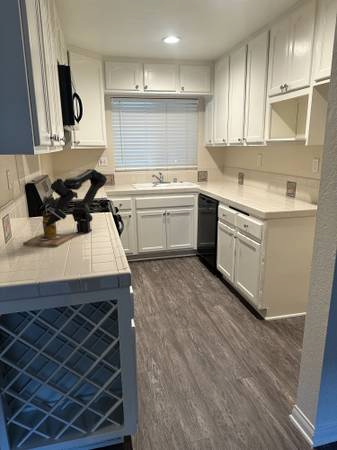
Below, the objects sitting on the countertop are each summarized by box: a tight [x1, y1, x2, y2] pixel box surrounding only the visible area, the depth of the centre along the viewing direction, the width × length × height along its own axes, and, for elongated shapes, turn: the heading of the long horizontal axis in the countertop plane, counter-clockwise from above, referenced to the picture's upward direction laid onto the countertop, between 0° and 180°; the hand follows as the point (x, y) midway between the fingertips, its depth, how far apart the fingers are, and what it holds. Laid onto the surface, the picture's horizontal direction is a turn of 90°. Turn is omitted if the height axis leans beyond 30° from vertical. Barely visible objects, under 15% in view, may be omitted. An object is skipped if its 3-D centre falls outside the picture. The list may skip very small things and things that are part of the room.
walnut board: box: [22, 233, 74, 248], centre depth 157 cm, size 18×16×2 cm
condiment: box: [39, 213, 59, 240], centre depth 155 cm, size 7×8×12 cm
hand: (44, 224), depth 154 cm, fingers closed on condiment, 6 cm apart
